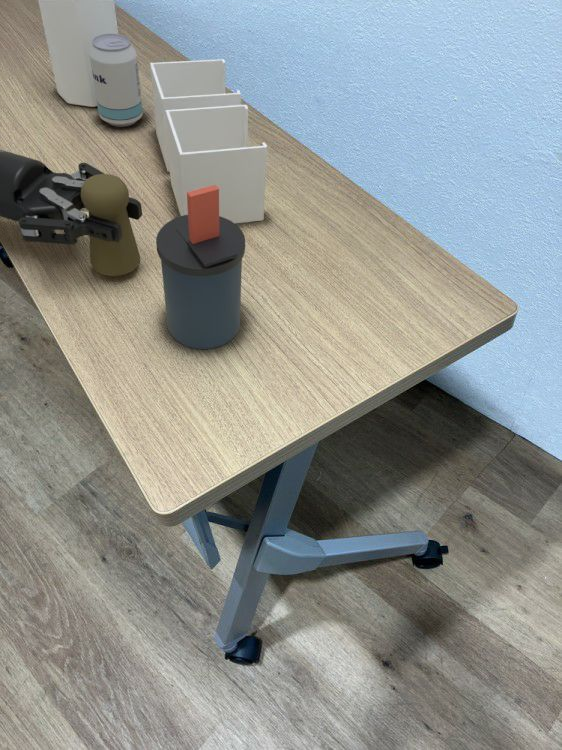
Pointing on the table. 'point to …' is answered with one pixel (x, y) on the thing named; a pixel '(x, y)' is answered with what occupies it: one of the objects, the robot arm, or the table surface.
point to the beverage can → (116, 79)
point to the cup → (75, 43)
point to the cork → (109, 202)
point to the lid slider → (206, 227)
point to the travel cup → (200, 286)
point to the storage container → (207, 138)
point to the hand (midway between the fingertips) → (129, 221)
